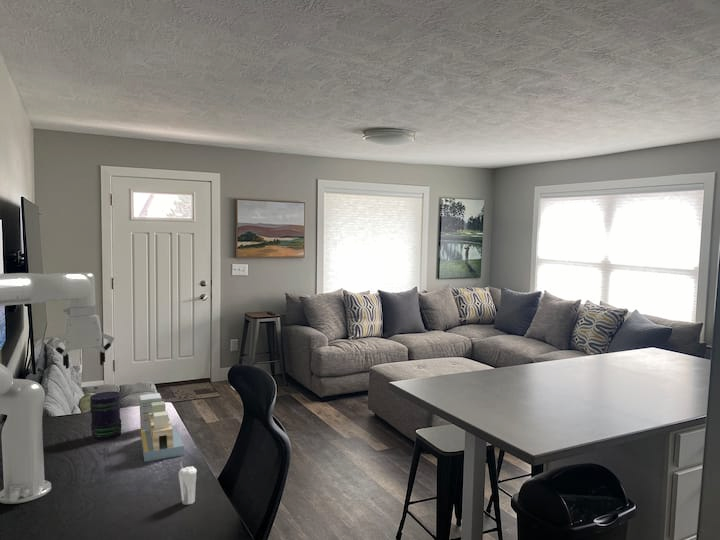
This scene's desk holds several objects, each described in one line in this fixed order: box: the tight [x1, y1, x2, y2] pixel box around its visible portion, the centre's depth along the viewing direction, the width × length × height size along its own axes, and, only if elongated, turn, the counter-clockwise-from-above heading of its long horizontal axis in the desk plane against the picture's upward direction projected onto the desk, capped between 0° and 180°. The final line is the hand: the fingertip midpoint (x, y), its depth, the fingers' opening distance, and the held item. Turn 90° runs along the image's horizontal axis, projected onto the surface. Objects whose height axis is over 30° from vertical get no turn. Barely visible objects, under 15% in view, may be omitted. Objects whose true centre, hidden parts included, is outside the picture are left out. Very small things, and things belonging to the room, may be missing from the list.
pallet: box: [149, 413, 173, 451], centre depth 183 cm, size 22×6×6 cm, turn 24°
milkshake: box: [178, 461, 198, 506], centre depth 143 cm, size 4×5×10 cm
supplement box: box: [138, 392, 163, 431], centre depth 200 cm, size 7×7×13 cm
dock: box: [140, 425, 185, 463], centre depth 183 cm, size 22×12×3 cm, turn 24°
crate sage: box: [151, 400, 167, 418], centre depth 188 cm, size 4×4×4 cm
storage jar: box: [89, 386, 122, 442], centre depth 194 cm, size 10×10×18 cm
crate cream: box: [153, 410, 169, 429], centre depth 177 cm, size 4×4×4 cm
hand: (84, 366), depth 171 cm, fingers open, 9 cm apart
